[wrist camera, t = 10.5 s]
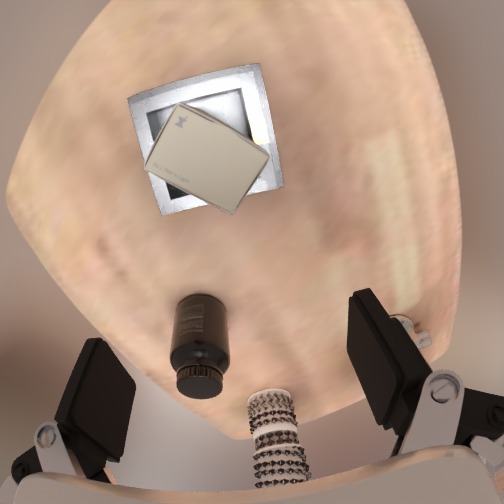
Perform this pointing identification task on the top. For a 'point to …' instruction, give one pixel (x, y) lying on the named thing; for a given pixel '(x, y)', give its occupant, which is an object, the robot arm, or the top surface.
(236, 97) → the socket
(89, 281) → the top surface
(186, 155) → the skincare box
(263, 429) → the decorative candle
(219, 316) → the supplement bottle
